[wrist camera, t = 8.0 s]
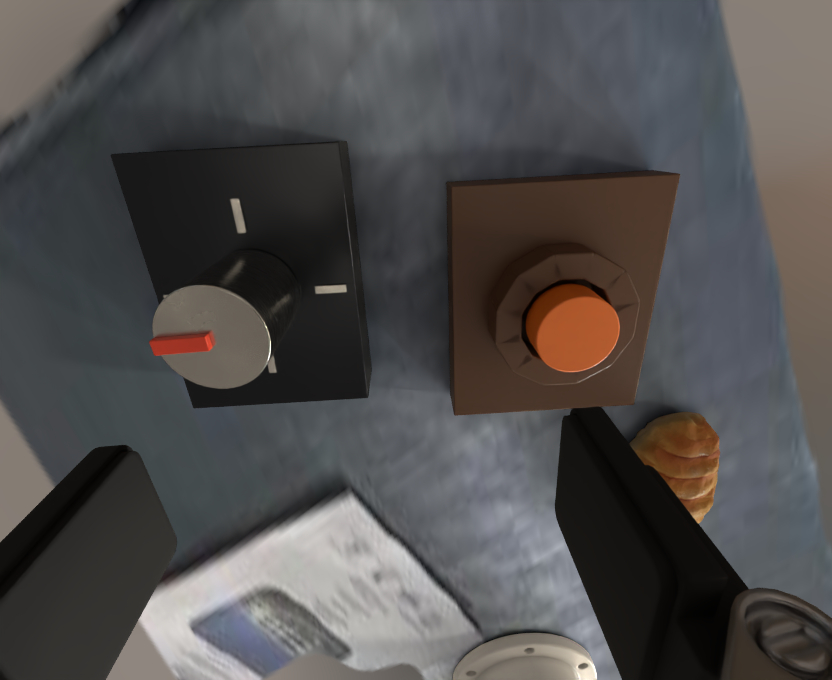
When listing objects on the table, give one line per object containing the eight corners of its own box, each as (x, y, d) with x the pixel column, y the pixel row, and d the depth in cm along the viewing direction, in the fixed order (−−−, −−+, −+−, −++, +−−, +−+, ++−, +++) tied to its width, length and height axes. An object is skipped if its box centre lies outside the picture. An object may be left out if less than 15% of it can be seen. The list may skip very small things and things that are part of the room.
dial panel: (371, 369, 25) (368, 400, 22) (215, 378, 25) (191, 410, 22) (347, 140, 20) (338, 141, 17) (150, 151, 19) (107, 154, 17)
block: (615, 384, 26) (651, 424, 22) (450, 394, 26) (458, 436, 22) (653, 170, 21) (707, 177, 17) (446, 181, 20) (456, 191, 17)
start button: (597, 352, 21) (613, 370, 19) (522, 356, 21) (533, 375, 19) (608, 280, 19) (626, 293, 17) (527, 285, 19) (539, 298, 17)
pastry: (628, 399, 26) (663, 438, 23) (729, 409, 27) (778, 449, 23) (582, 510, 30) (606, 559, 27) (671, 517, 31) (706, 565, 27)
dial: (291, 245, 18) (253, 282, 14) (308, 329, 20) (279, 389, 15) (198, 253, 18) (128, 293, 14) (223, 336, 20) (169, 398, 15)
